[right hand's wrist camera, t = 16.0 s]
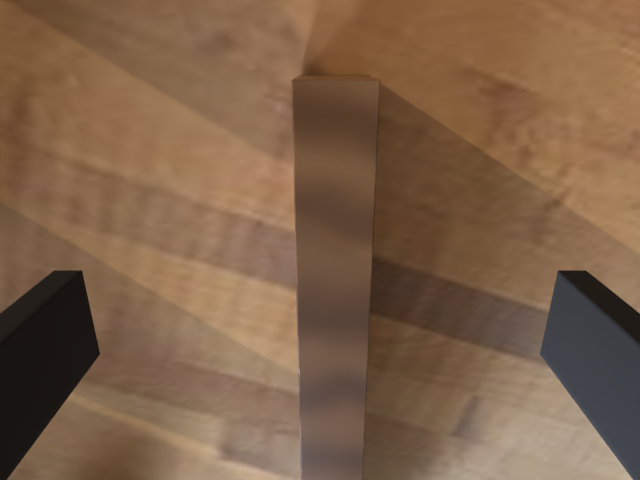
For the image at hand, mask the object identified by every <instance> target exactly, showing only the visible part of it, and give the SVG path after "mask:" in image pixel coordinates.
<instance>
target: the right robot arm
mask: <svg viewBox="0 0 640 480" xmlns="http://www.w3.org/2000/svg"><path fill="white" fill-rule="evenodd" d="M99 355H100V352H99V348H98V343H97V338H96V334H95V329H94V325H93V320H92V315H91V311H90V306H89V301H88V297H87V292H86V287H85V283H84V278H83V273H82V271H53V272H52V273H50V274H49V275H48V276H47V277H45V278H44V279H43V280H42V281H40V282H39V283H38V284H37V285H35V286H34V287H33V288H32V289H31V290H29V291H28V292H27V293H26V294H24V295H23V296H22V297H21V298H19V299H18V300H17V301H16V302H14V303H13V304H12V305H11V306H9V307H8V308H7V309H6V310H4V311H3V312H2V313H1V314H0V480H7V479H8V477H9V476H10V475H11V473H12V472H13V471H14V469H15V468H16V466H17V465H18V464H19V462H20V461H21V460H22V458H23V457H24V456H25V454H26V453H27V452H28V450H29V449H30V448H31V446H32V445H33V444H34V442H35V441H36V440H37V438H38V437H39V435H40V434H41V433H42V431H43V430H44V429H45V427H46V426H47V425H48V423H49V422H50V421H51V419H52V418H53V417H54V415H55V414H56V413H57V411H58V410H59V409H60V407H61V406H62V404H63V403H64V402H65V400H66V399H67V398H68V396H69V395H70V394H71V392H72V391H73V390H74V388H75V387H76V386H77V384H78V383H79V382H80V380H81V379H82V378H83V376H84V375H85V373H86V372H87V371H88V369H89V368H90V367H91V365H92V364H93V363H94V361H95V360H96V359H97V357H98V356H99ZM540 355H541V356H542V357H543V359H544V360H545V361H546V363H547V364H548V365H549V367H550V368H551V369H552V371H553V372H554V373H555V375H556V376H557V378H558V379H559V380H560V382H561V383H562V384H563V386H564V387H565V388H566V390H567V391H568V392H569V394H570V395H571V396H572V398H573V399H574V400H575V402H576V403H577V404H578V406H579V407H580V409H581V410H582V411H583V413H584V414H585V415H586V417H587V418H588V419H589V421H590V422H591V423H592V425H593V426H594V427H595V429H596V430H597V431H598V433H599V434H600V435H601V437H602V438H603V440H604V441H605V442H606V444H607V445H608V446H609V448H610V449H611V450H612V452H613V453H614V454H615V456H616V457H617V458H618V460H619V461H620V462H621V464H622V465H623V466H624V468H625V469H626V471H627V472H628V473H629V475H630V476H631V477H632V479H633V480H640V314H639V313H638V312H637V311H636V310H634V309H633V308H632V307H631V306H629V305H628V304H627V303H626V302H624V301H623V300H622V299H621V298H619V297H618V296H617V295H616V294H614V293H613V292H612V291H611V290H609V289H608V288H607V287H606V286H605V285H603V284H602V283H601V282H600V281H598V280H597V279H596V278H595V277H593V276H592V275H591V274H590V273H588V272H587V271H558V273H557V278H556V283H555V287H554V292H553V297H552V301H551V306H550V311H549V315H548V320H547V324H546V329H545V334H544V338H543V343H542V348H541V352H540Z"/></svg>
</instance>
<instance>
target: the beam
mask: <svg viewBox="0 0 640 480" xmlns="http://www.w3.org/2000/svg"><path fill="white" fill-rule="evenodd" d="M379 101H380V80H378V79H376V78H374V77H371V76H369V75H300V76H298V77H297V78H295V79H293V80H292V118H293V161H294V204H295V247H296V290H297V334H298V377H299V420H300V463H301V480H362V479H363V457H364V434H365V412H366V390H367V368H368V345H369V323H370V301H371V279H372V257H373V234H374V212H375V190H376V168H377V145H378V123H379Z"/></svg>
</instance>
